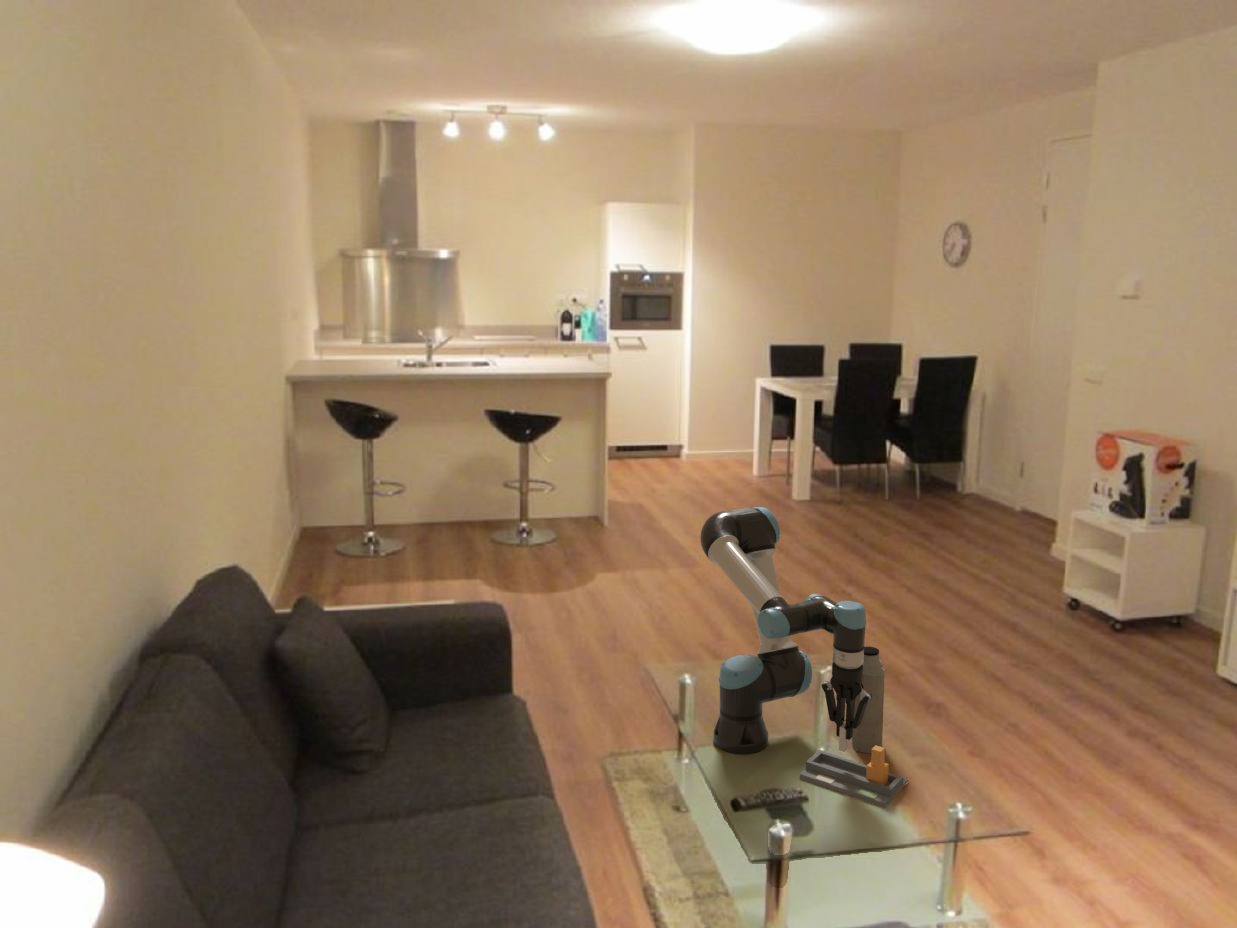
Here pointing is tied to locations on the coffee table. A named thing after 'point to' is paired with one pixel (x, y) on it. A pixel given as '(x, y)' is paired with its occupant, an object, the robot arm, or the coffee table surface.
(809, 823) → the coffee table surface
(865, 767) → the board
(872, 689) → the thermos bottle
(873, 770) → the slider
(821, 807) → the coffee table surface
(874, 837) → the coffee table surface
